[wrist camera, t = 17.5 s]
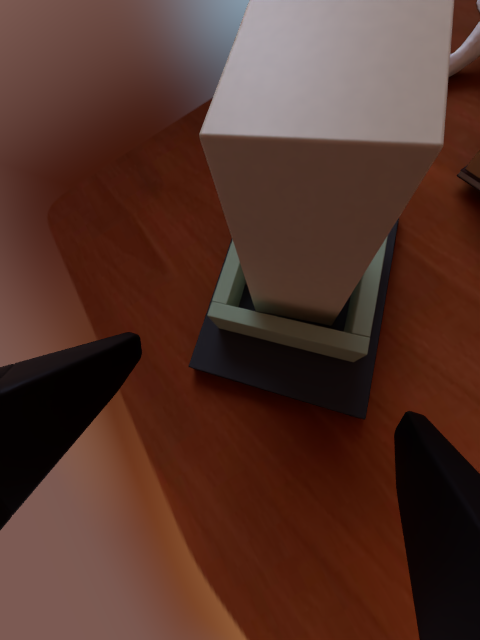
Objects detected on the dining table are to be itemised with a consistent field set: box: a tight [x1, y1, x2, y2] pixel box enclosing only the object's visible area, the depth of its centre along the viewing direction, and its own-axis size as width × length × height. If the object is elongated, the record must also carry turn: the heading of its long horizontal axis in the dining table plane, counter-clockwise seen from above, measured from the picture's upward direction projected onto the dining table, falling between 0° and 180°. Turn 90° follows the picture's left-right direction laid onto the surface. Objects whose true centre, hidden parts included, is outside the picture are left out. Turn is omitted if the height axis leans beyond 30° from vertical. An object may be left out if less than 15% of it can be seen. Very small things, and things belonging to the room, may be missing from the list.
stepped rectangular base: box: [189, 218, 399, 419], centre depth 18 cm, size 16×12×4 cm
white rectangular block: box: [200, 0, 454, 326], centre depth 13 cm, size 5×5×14 cm
